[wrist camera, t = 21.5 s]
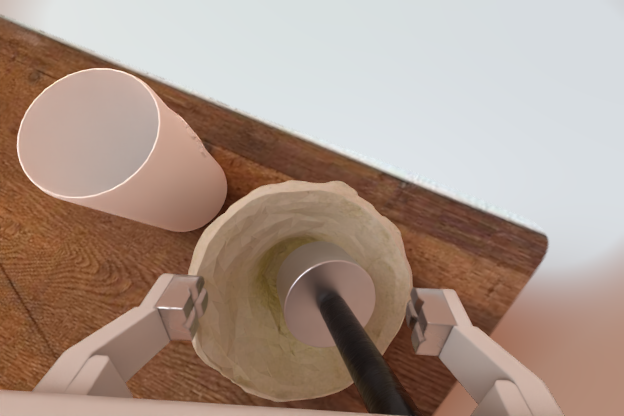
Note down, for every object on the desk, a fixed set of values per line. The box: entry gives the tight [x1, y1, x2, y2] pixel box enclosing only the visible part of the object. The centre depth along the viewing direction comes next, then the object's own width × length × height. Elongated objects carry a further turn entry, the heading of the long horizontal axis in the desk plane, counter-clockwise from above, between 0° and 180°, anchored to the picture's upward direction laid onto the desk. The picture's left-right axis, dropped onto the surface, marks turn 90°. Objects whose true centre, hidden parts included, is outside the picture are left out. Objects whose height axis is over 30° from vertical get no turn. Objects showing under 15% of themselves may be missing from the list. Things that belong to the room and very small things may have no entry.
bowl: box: [188, 180, 413, 402], centre depth 20 cm, size 15×14×10 cm
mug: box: [17, 68, 227, 232], centre depth 22 cm, size 8×12×12 cm
